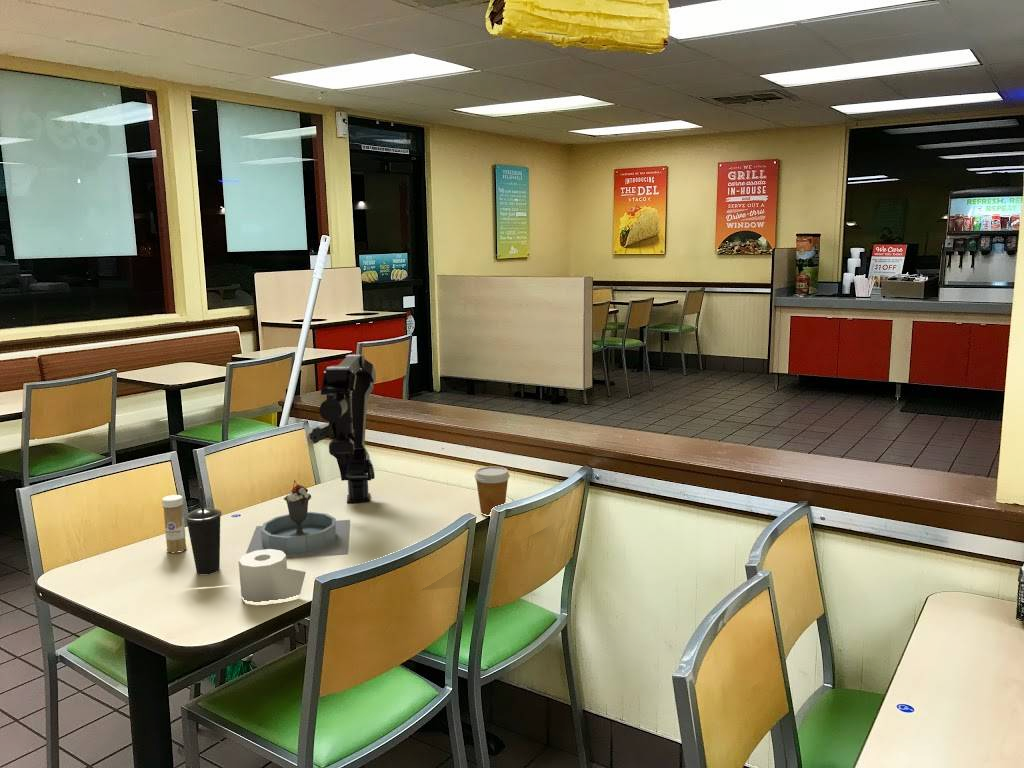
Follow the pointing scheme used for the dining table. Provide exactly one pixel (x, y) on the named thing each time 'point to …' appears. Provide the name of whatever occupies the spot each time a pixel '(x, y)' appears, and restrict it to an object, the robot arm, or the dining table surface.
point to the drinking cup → (205, 537)
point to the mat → (332, 549)
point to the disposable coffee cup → (491, 487)
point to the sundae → (298, 507)
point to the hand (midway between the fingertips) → (343, 471)
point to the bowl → (315, 524)
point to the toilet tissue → (268, 576)
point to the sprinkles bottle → (174, 523)
